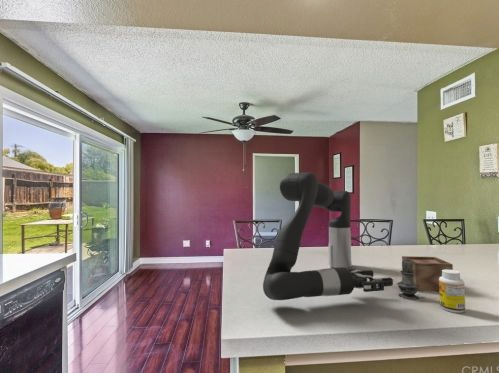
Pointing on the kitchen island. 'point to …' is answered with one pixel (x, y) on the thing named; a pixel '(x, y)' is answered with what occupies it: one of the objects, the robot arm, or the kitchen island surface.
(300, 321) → the kitchen island surface
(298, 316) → the kitchen island surface
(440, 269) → the stand
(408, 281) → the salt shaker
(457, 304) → the supplement bottle
